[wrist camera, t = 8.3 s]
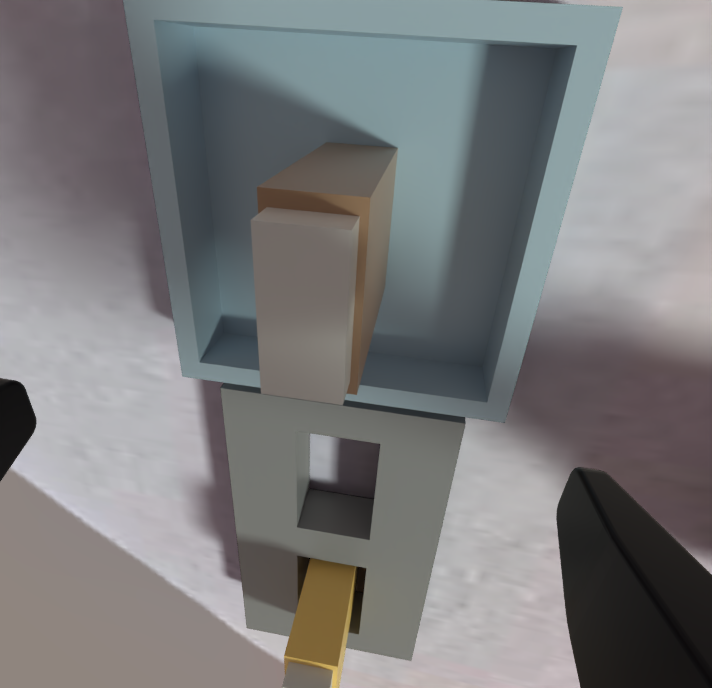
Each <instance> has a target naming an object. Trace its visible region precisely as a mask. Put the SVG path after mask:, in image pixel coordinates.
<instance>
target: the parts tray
mask: <svg viewBox="0 0 712 688" xmlns="http://www.w3.org/2000/svg"><path fill="white" fill-rule="evenodd" d="M123 4H124V11H125V17H126V23H127V30H128V36H129V42H130V48H131V55H132V61H133V67H134V74H135V80H136V86H137V93H138V99H139V105H140V112H141V118H142V124H143V130H144V137H145V143H146V149H147V156H148V162H149V168H150V175H151V181H152V187H153V194H154V200H155V206H156V212H157V219H158V225H159V231H160V238H161V244H162V250H163V257H164V263H165V269H166V276H167V282H168V288H169V295H170V301H171V307H172V313H173V320H174V326H175V332H176V339H177V345H178V351H179V358H180V364H181V370H182V377H189V378H196V379H203V380H210V381H217V382H224V383H231V384H238V385H245V386H252V387H259V388H261V386H260V369H259V352H258V336H257V319H256V302H255V286H254V269H253V253H252V236H251V219H252V218H254V217H255V216H256V215H258V201H257V186H259V185H261V184H262V183H264V182H265V181H267V180H268V179H270V178H272V177H273V176H275V175H276V174H278V173H279V172H281V171H282V170H284V169H286V168H287V167H289V166H290V165H292V164H293V163H295V162H296V161H298V160H300V159H301V158H303V157H304V156H306V155H307V154H309V153H311V152H312V151H314V150H315V149H317V148H318V147H320V146H321V145H323V144H325V143H326V142H331V143H344V144H356V145H368V146H380V147H392V148H398V154H397V165H396V175H395V186H394V197H393V208H392V218H391V229H390V240H389V250H388V261H387V272H386V282H385V289H384V293H383V297H382V301H381V305H380V308H379V312H378V316H377V320H376V324H375V328H374V331H373V335H372V339H371V343H370V347H369V351H368V354H367V358H366V362H365V366H364V370H363V374H362V377H361V381H360V385H359V389H358V393H357V395H353V394H346V396H345V400H349V401H356V402H363V403H370V404H377V405H384V406H391V407H398V408H405V409H412V410H419V411H426V412H432V413H439V414H446V415H453V416H460V417H467V418H474V419H481V420H488V421H495V422H502V423H505V421H506V417H507V414H508V410H509V406H510V403H511V399H512V396H513V392H514V389H515V385H516V382H517V378H518V375H519V371H520V368H521V364H522V361H523V357H524V354H525V350H526V347H527V343H528V340H529V336H530V332H531V329H532V325H533V322H534V318H535V315H536V311H537V308H538V304H539V301H540V297H541V294H542V290H543V287H544V283H545V280H546V276H547V273H548V269H549V266H550V262H551V258H552V255H553V251H554V248H555V244H556V241H557V237H558V234H559V230H560V227H561V223H562V220H563V216H564V213H565V209H566V206H567V202H568V199H569V195H570V191H571V188H572V184H573V181H574V177H575V174H576V170H577V167H578V163H579V160H580V156H581V153H582V149H583V146H584V142H585V139H586V135H587V132H588V128H589V125H590V121H591V117H592V114H593V110H594V107H595V103H596V100H597V96H598V93H599V89H600V86H601V82H602V79H603V75H604V72H605V68H606V65H607V61H608V58H609V54H610V51H611V47H612V43H613V40H614V36H615V33H616V29H617V26H618V22H619V19H620V15H621V12H622V8H623V7H612V6H593V5H574V4H554V3H535V2H516V1H496V0H123Z"/></svg>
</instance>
